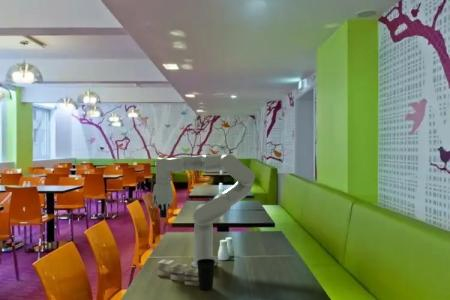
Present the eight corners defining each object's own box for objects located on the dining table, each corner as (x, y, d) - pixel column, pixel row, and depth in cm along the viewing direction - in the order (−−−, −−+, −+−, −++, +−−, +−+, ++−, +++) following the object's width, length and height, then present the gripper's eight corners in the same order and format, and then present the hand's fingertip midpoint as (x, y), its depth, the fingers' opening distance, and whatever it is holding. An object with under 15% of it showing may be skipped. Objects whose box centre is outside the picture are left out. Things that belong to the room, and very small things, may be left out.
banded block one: (188, 277, 200) (188, 264, 199) (182, 281, 194) (182, 268, 194) (176, 275, 202) (175, 263, 201) (170, 279, 196) (170, 266, 196)
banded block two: (202, 281, 193) (202, 268, 193) (197, 286, 187) (197, 272, 187) (190, 280, 195) (190, 267, 195) (184, 284, 189) (184, 271, 189)
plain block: (174, 272, 206) (174, 260, 206) (168, 276, 200) (168, 263, 200) (163, 271, 208) (163, 259, 208) (157, 275, 202) (157, 262, 202)
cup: (214, 285, 188) (214, 258, 187) (214, 291, 180) (214, 263, 180) (197, 285, 187) (197, 258, 187) (196, 291, 180) (196, 263, 179)
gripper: (170, 180, 225) (170, 214, 225) (146, 182, 215) (146, 218, 215) (179, 181, 220) (179, 216, 220) (155, 183, 209) (155, 220, 210)
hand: (163, 217), depth 218 cm, fingers closed
